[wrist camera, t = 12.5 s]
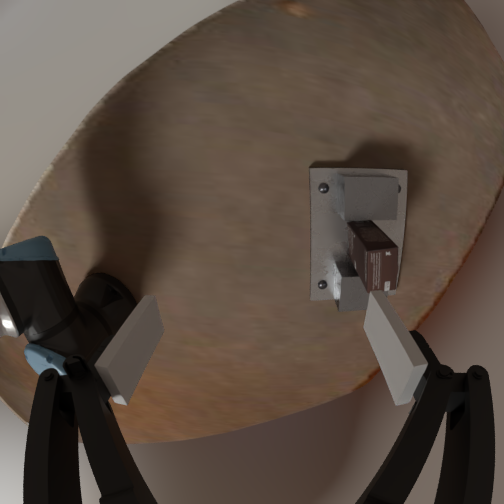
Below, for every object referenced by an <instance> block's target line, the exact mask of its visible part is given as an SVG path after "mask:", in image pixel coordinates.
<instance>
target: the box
mask: <svg viewBox="0 0 504 504" xmlns="http://www.w3.org/2000/svg"><path fill="white" fill-rule="evenodd" d="M347 230H348V243H349V257H350V259H351V261H352V263H353V265H354V267H355V269H356V271H357V273H358V275H359V277H360V279H361V281H362V283H363V285H364V287H365V289H366V291H367V293H370V291H377V290H382V292H383V291H389V290H395V289H396V285H397V274H398V269H399V266H398V250H399V247H398V246H397V245H396V244H395V243H394V242H393V241H392V240H391V239H390V238H389V237H388V236H387V235H386V234H385V233H384V232H383V231H382V230H381V229H380V228H379V227H378V226H377V225H376V224H375V223H374V222H373V221H372V220H364V221H353V222H347Z"/></svg>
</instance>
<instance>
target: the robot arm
mask: <svg viewBox="0 0 504 504" xmlns="http://www.w3.org/2000/svg"><path fill="white" fill-rule="evenodd" d="M364 330H365V332H366V334H367V337H368V339H369V341H370V343H371V346H372V348H373V350H374V353H375V355H376V357H377V360H378V362H379V365H380V367H381V369H382V372H383V374H384V377H385V379H386V381H387V384H388V387H389V389H390V392H391V394H392V397H393V400H394V402H395V405H396V406H398V405H402V404H406V403H409V402H410V400H411V398H412V396H414V398H415V400H416V402H415V404H414V405H413V407H412V409H411V411H410V412H409V416H408V418H407V420H406V422H405V424H404V426H403V428H402V430H401V432H400V434H399V436H398V438H397V440H396V442H395V443H394V445H393V447H392V449H391V451H390V452H389V454H388V456H387V457H386V459H385V461H384V462H383V464H382V466H381V467H380V469H379V470H378V472H377V473H376V475H375V477H374V478H373V479H372V481H371V482H370V484H369V485H368V487H367V488H366V490H365V491H364V492H363V494H362V495H361V497H360V498H359V499H358V500H357V502H356V503H355V504H404V502H405V500H406V499H407V497H408V495H409V494H410V492H411V490H412V488H413V486H414V484H415V482H416V481H417V478H418V477H419V474H420V473H421V470H422V468H423V466H424V464H425V462H426V460H427V457H428V455H429V453H430V451H431V448H432V446H433V443H434V441H435V438H436V436H437V433H438V431H439V428H440V425H441V422H442V419H443V416H444V413H445V412H447V420H446V435H445V445H444V453H443V460H442V467H441V473H440V479H439V484H438V489H437V493H436V498H435V502H434V504H491V500H492V492H493V482H494V468H495V429H494V428H495V427H494V413H493V403H492V395H491V387H490V380H489V375H488V372H487V371H486V369H485V368H483V367H482V366H479V365H473V366H471V367H470V368H469V369H468V371H467V373H454V371H453V370H452V369H451V368H450V367H448V366H446V365H442V364H440V362H439V361H438V359H437V358H436V356H435V354H434V353H433V351H432V350H431V348H429V345H428V343H426V340H425V339H424V337H423V336H422V335H421V334H420V333H418V332H417V331H416V330H413V331H408V330H407V328H406V326H405V325H404V323H403V322H402V320H401V319H400V317H399V316H398V314H397V313H396V311H395V309H394V308H393V306H392V305H391V304H390V302H389V301H388V299H387V298H386V296H385V295H384V293H383V292H382V290H377V291H370V295H369V301H368V307H367V312H366V318H365V323H364ZM22 333H24V335H25V337H26V338H27V340H28V342H29V344H27V345H26V348H25V350H24V353H25V356H26V359H27V361H28V362H29V364H30V365H31V367H32V368H33V369H34V370H35V371H36V372H37V373H38V374H39V375H40V376H39V379H38V383H37V387H36V391H35V395H34V400H33V405H32V410H31V415H30V421H29V427H28V434H27V442H26V451H25V462H24V481H23V482H24V483H23V501H24V503H23V504H82V498H81V488H80V476H79V456H78V425H79V429H80V433H81V436H82V440H83V444H84V447H85V450H86V454H87V456H88V460H89V463H90V466H91V469H92V471H93V474H94V477H95V480H96V482H97V485H98V487H99V490H100V492H101V498H100V499H99V502H100V504H157V502H156V500H155V498H154V497H153V495H152V493H151V492H150V490H149V488H148V486H147V484H146V483H145V481H144V479H143V477H142V475H141V474H140V471H139V470H138V468H137V466H136V464H135V462H134V460H133V457H132V455H131V454H130V451H129V449H128V447H127V445H126V442H125V440H124V438H123V435H122V433H121V431H120V428H119V426H118V423H117V421H116V418H115V416H114V413H113V410H112V408H111V405H110V403H109V401H108V400H109V398H110V396H111V397H112V398H113V400H114V402H115V403H119V404H124V405H128V403H129V401H130V398H131V396H132V394H133V392H134V390H135V388H136V386H137V384H138V382H139V380H140V378H141V376H142V374H143V372H144V370H145V368H146V366H147V364H148V362H149V360H150V358H151V356H152V354H153V352H154V350H155V348H156V346H157V344H158V342H159V340H160V338H161V336H162V334H163V333H164V328H163V324H162V320H161V316H160V313H159V309H158V305H157V301H156V296H151V295H145V296H144V297H143V298H142V299H141V301H140V302H139V303H138V305H137V303H136V301H135V299H134V297H133V296H132V294H131V293H130V291H129V290H128V289H127V288H126V287H125V286H124V285H123V284H122V283H121V282H120V281H118V280H117V279H115V278H114V277H112V276H110V275H107V274H103V273H95V274H92V275H90V276H88V277H87V278H86V279H85V280H84V281H82V283H81V284H80V285H79V288H78V290H77V292H76V294H75V296H74V297H73V295H72V293H71V290H70V288H69V286H68V283H67V281H66V278H65V276H64V273H63V271H62V268H61V265H60V263H59V258H58V257H57V256H56V253H55V251H54V248H53V246H52V243H51V241H50V240H49V239H48V238H47V237H45V236H38V237H34V238H31V239H28V240H25V241H22V242H19V243H16V244H13V245H10V246H7V247H4V248H2V249H0V338H1V337H2V336H3V335H9V336H13V337H16V338H17V337H19V336H20V335H21V334H22Z"/></svg>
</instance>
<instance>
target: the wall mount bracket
mask: <svg viewBox="0 0 504 504" xmlns="http://www.w3.org/2000/svg"><path fill="white" fill-rule="evenodd" d="M309 185H310V300H329V299H335V302H336V305H337V308H338V311H339V312H341V311H355V310H367V307H368V301H369V295H370V293H367V291H366V289H365V287H364V285H363V283H362V281H361V279H360V277H359V275H358V273H357V271H356V269H355V267H354V265H353V263H352V261H351V259H350V257H349V243H348V230H347V222H353V221H364V220H372V221H373V222H374V223H375V224H376V225H377V226H378V227H379V228H380V229H381V230H382V231H383V232H384V233H385V234H386V235H387V236H388V237H389V238H390V239H391V240H392V241H393V242H394V243H395V244H396V245H397V246H398V247H399V250H398V266H399V269H400V263H401V255H402V247H403V238H404V228H405V216H406V201H407V170H401V169H381V168H340V167H325V168H309ZM399 269H398V274H397V282H398V276H399ZM396 288H397V285H396ZM383 293H384V295H385V296H386V298H387V295H395V293H396V289H395V290H389V291H383Z"/></svg>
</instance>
